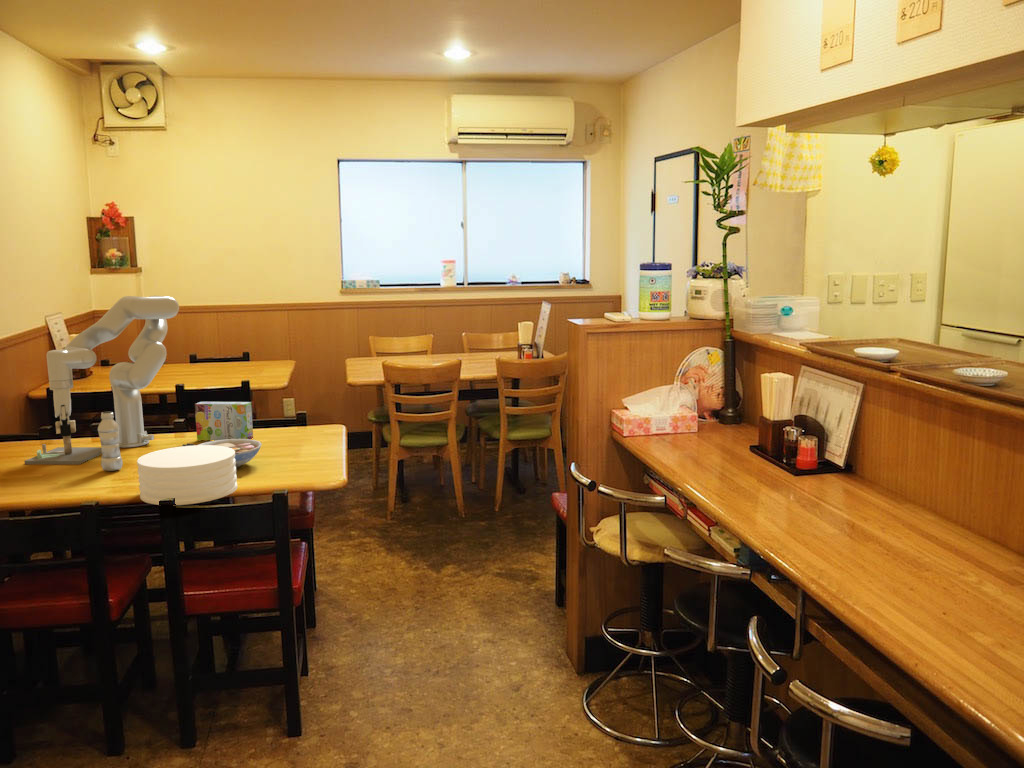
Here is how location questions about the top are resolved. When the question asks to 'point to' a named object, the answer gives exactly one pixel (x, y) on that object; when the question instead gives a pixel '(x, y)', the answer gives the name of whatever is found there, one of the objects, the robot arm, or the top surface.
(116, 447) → the plastic bottle
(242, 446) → the ramen bowl
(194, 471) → the plate stack
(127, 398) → the robot arm
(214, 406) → the snack box
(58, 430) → the dial handle
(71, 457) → the dial board
